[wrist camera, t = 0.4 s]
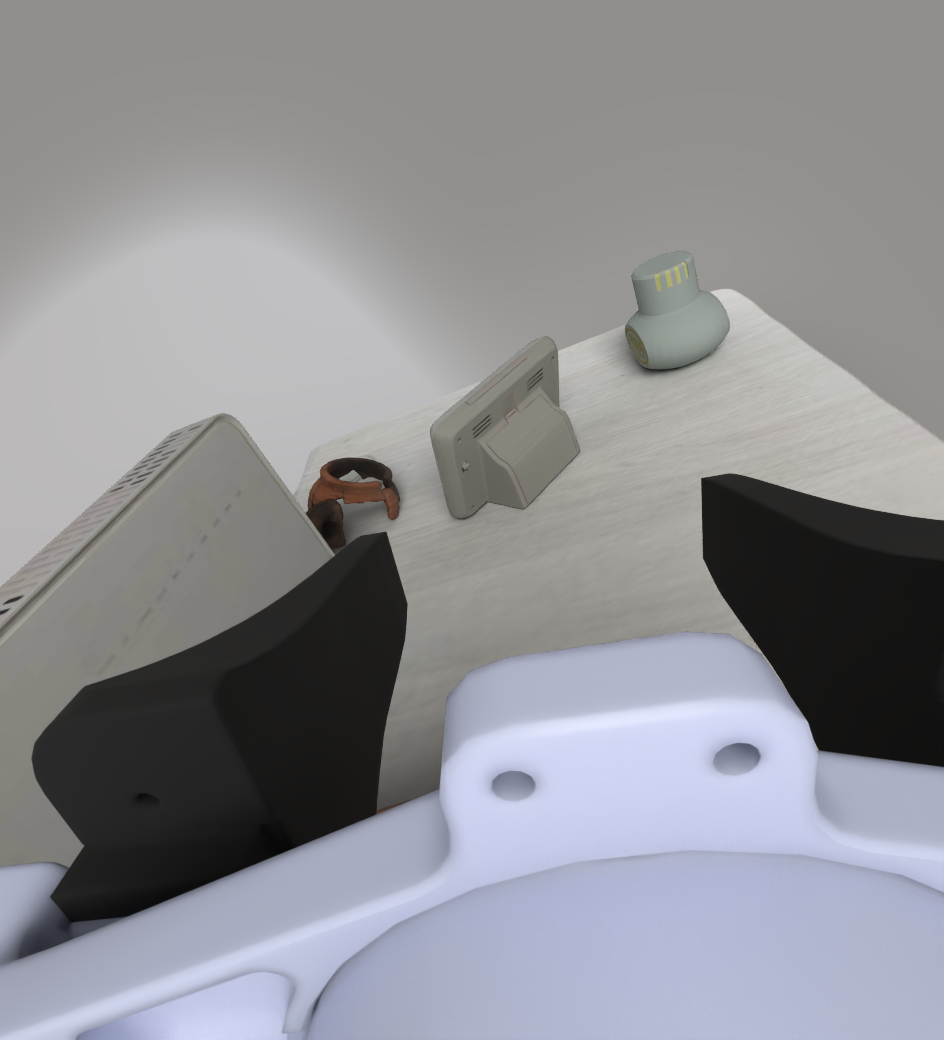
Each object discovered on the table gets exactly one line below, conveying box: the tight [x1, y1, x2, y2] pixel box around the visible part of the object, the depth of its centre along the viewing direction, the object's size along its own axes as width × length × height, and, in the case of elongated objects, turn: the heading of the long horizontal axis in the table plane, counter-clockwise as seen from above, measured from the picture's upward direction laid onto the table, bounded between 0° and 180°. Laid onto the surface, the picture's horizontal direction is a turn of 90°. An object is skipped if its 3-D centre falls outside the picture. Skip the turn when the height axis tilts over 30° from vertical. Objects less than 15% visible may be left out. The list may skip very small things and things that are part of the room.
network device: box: [0, 413, 335, 868], centre depth 32 cm, size 26×9×20 cm, turn 172°
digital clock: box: [430, 336, 580, 519], centre depth 51 cm, size 16×9×11 cm, turn 124°
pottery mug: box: [306, 458, 400, 548], centre depth 57 cm, size 12×10×8 cm
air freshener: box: [625, 251, 730, 369], centre depth 58 cm, size 11×8×10 cm
